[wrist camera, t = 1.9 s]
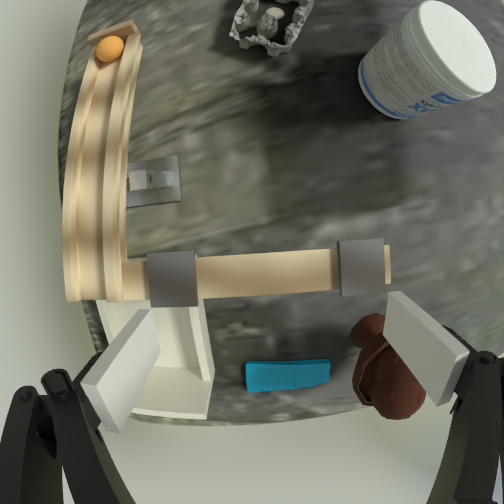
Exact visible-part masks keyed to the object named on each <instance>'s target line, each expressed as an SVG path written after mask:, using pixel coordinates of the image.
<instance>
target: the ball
mask: <svg viewBox="0 0 504 504" xmlns="http://www.w3.org/2000/svg"><path fill="white" fill-rule="evenodd" d="M123 49H124V43H123V41H122V39H121V38H119V37H117V36H109V37H106V38H104V39H103V40H101V41H100V42H99V44H98V46H97V48H96V55H97V57H98V58H99V59H100V60H102V61H104V62H110V61H113V60H115V59H117V58H118V57H119V56H120V55H121V54H122V52H123Z"/></svg>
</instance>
